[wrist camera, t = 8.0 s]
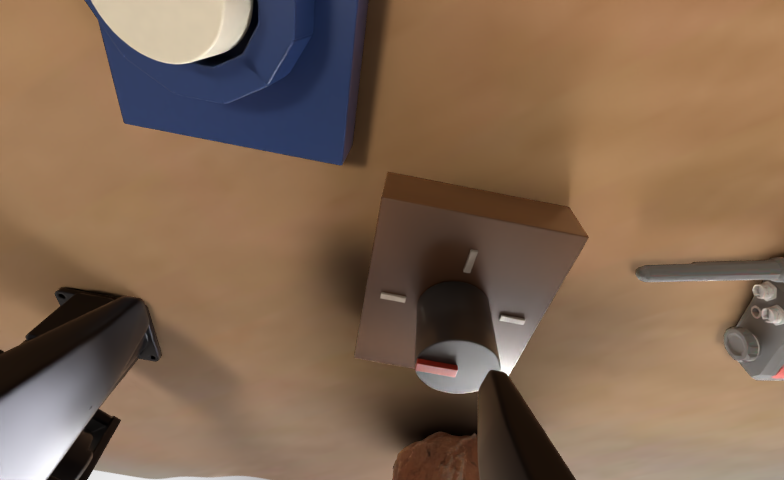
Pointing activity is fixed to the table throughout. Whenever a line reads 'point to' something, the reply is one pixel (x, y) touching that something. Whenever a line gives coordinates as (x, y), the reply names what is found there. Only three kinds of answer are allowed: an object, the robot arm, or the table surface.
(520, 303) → the dial panel
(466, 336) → the dial
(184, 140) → the table surface
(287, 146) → the button housing
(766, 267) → the walkie-talkie
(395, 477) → the decorative rock
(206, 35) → the cap
